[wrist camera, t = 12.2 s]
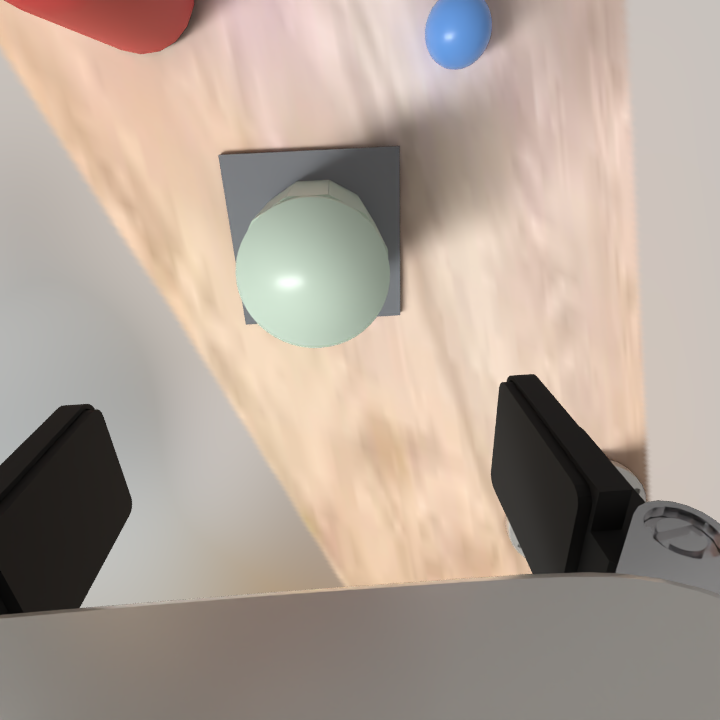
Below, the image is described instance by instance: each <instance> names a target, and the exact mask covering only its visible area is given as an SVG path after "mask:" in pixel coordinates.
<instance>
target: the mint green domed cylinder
mask: <svg viewBox="0 0 720 720" xmlns="http://www.w3.org/2000/svg"><path fill="white" fill-rule="evenodd" d="M236 260H237V261H236V281H237V286H238V290H239V294H240V296H241V299H242V302H243V303H244V305H245V307H246V309H247V311H248V312H249V314H250V315H251V316H252V318H253V319H254V320H255V321H256V322H257V323H258V324H259V325H260V326H261V327H262V328H263V329H264V330H265V331H267V332H268V333H270V334H271V335H273V336H274V337H276V338H278V339H280V340H282V341H284V342H287V343H289V344H292V345H296V346H301V347H309V348H322V347H330V346H334V345H338V344H341V343H343V342H346V341H348V340H350V339H352V338H354V337H356V336H357V335H358V334H360V333H361V332H363V331H364V330H365V329H366V328H367V327H368V326H369V325H370V324H371V323H372V322H373V321H374V320H375V318H376V317H377V315H378V314H379V312H380V311H381V309H382V307H383V305H384V303H385V300H386V297H387V294H388V289H389V284H390V266H389V260H388V249H387V247H386V245H385V243H384V241H383V238H382V236H381V234H380V232H379V230H378V228H377V226H376V224H375V222H374V221H373V219H372V217H371V216H370V214H369V212H368V211H367V209H366V208H365V206H364V204H363V203H362V201H361V199H360V198H359V196H358V195H357V194H355V193H353V192H351V191H349V190H347V189H345V188H344V187H342V186H340V185H338V184H336V183H334V182H332V181H331V180H314V181H297V182H295V183H294V184H292V185H291V186H289V187H288V188H287V189H285V190H284V191H282V192H281V193H280V194H278V195H277V196H275V197H274V198H273V199H271V200H270V201H269V202H268V203H267V204H266V205H265V207H264V208H263V209H262V210H261V211H260V212H259V213H258V214H257V215H256V217H255V218H254V219H253V220H252V221H251V223H250V226H249V228H248V231H247V233H246V234H245V236H244V238H243V240H242V242H241V245H240V248H239V251H238V255H237V259H236Z"/></svg>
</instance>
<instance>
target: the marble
mask: <svg viewBox="0 0 720 720" xmlns="http://www.w3.org/2000/svg"><path fill="white" fill-rule="evenodd" d="M491 31H492V18H491V13H490V10H489V7H488V5H487V3H486V2H485V0H438V1H437V2H436V4H435V5H434V6H433V8H432V10H431V12H430V14H429V16H428V19H427V22H426V28H425V40H426V45H427V49H428V51H429V53H430V55H431V57H432V58H433V59H434V61H435V62H436V63H438V64H439V65H440V66H442V67H444V68H447V69H454V70H456V69H462V68H465V67H467V66H469V65H471V64H473V63H474V62H475V61H476V60H477V59H478V58H479V57H480V56H481V55H482V54H483V52H484V51H485V49H486V47H487V45H488V43H489V40H490V37H491Z"/></svg>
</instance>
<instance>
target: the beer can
mask: <svg viewBox="0 0 720 720" xmlns="http://www.w3.org/2000/svg"><path fill="white" fill-rule="evenodd" d="M4 1H6V2H8V3H10V4H12V5H13V6H15V7H17V8H19V9H21V10H23V11H25V12H28V13H30V14H33V15H35V16H38V17H40V18H43V19H45V20H48V21H50V22H53V23H55V24H58V25H60V26H63V27H65V28H68V29H70V30H73V31H75V32H78V33H80V34H83V35H85V36H88V37H90V38H93V39H95V40H98V41H100V42H103V43H105V44H108V45H110V46H113V47H115V48H118V49H120V50H124V51H129V52H133V53H138V54H146V53H152V52H158V51H161V50H163V49H164V48H166V47H168V46H169V45H171V44H173V43H174V42H176V41H177V39H178V38H179V37H180V35H181V34H182V32H183V31H184V30H185V28H186V27H187V26H188V23H189V19H190V16H191V13H192V10H193V7H194V0H4Z"/></svg>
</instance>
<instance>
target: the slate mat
mask: <svg viewBox="0 0 720 720" xmlns="http://www.w3.org/2000/svg"><path fill="white" fill-rule="evenodd" d="M218 156H219V162H220V169H221V175H222V181H223V187H224V193H225V199H226V205H227V211H228V217H229V224H230V230H231V236H232V242H233V248H234V254H235V260H236V259H237V255H238V251H239V248H240V245H241V242H242V240H243V238H244V236H245V234H246V233H247V231H248V228H249V226H250V223H251V221H252V220H253V219H254V218H255V217H256V215H257V214H258V213H259V212H260V211H261V210H262V209H263V208H264V207H265V205H266V204H267V203H268V202H269V201H270V200H271V199H273V198H274V197H275V196H277V195H278V194H280V193H281V192H282V191H284V190H285V189H287V188H288V187H289V186H291V185H292V184H294V183H295V182H297V181H314V180H331V181H332V182H334V183H336V184H338V185H340V186H342V187H344V188H345V189H347V190H349V191H351V192H353V193H355V194H357V195H358V196H359V198H360V199H361V201H362V203H363V204H364V206H365V208H366V209H367V211H368V212H369V214H370V216H371V217H372V219H373V221H374V222H375V224H376V226H377V228H378V230H379V232H380V234H381V236H382V238H383V241H384V243H385V245H386V247H387V249H388V260H389V266H390V284H389V289H388V294H387V297H386V300H385V303H384V305H383V307H382V309H381V311H380V312H379V314H378V315H377V316H393V315H400V156H399V146H389V147H369V148H348V149H328V150H307V151H287V152H267V153H246V154H226V155H218ZM236 261H237V260H236ZM242 303H243V302H242ZM243 309H244V315H245V321H246V324H258V323H257V322H256V321H255V320H254V319H253V318H252V316H251V315H250V314H249V312H248V311H247V309H246V307H245V305H244V303H243Z"/></svg>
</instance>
